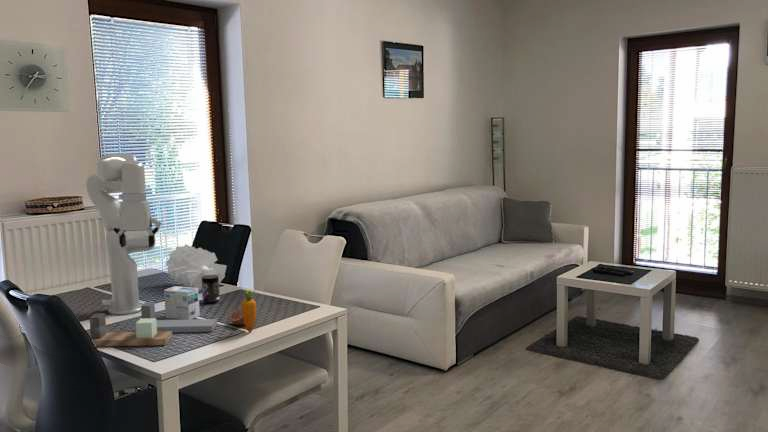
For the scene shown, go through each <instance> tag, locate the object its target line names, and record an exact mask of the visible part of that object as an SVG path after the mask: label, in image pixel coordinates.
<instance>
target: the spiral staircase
mask: <svg viewBox="0 0 768 432" xmlns="http://www.w3.org/2000/svg"><path fill="white" fill-rule="evenodd" d="M168 256H169V258H168V260H167V261H166V263H165V265H166V266H167V275H168V276H169V277H170V280H175V281H176V283H178V284H179V285H181V284H182V285H184V286H185V287H190V288H198V292H200V291H202V280H201V277H202V276H205V275H218V276H219V284H221V282H222V281H223V279H224V278H225V277H226V275H225V274H226V271H227V267H228V266H227V265H226V264H218V263H216V262H217V261H218V258H217V256H216V253H215V252H213V251H212V252H211V251H208V250H207V249H203V248H202V247H198V248H196V247H195V246H192V245H188V244H187V243H185V244H184V245H183V246H182V245H181V246H176V247H175V249H174V250H173V251H171V252H169V253H168Z"/></svg>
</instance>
